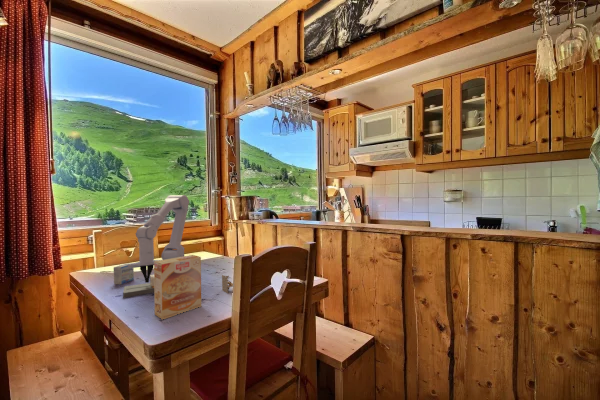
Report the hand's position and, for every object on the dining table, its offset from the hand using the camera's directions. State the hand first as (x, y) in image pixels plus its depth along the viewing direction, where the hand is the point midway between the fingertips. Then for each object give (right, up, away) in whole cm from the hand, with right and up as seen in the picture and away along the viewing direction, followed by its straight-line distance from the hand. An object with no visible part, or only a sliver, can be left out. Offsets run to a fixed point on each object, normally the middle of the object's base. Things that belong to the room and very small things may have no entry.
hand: (147, 282), depth 124 cm
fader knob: (+3, -2, +2) cm, 4 cm away
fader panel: (-1, -4, -1) cm, 4 cm away
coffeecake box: (+25, -4, -23) cm, 34 cm away
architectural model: (+37, -4, -2) cm, 38 cm away
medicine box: (-19, -4, +13) cm, 24 cm away
